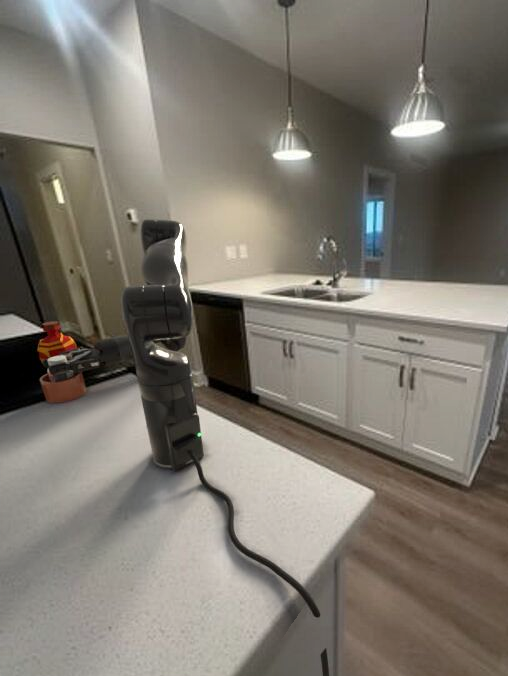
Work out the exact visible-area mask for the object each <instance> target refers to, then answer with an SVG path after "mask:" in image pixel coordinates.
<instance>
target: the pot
mask: <svg viewBox="0 0 508 676" xmlns="http://www.w3.org/2000/svg"><path fill="white" fill-rule="evenodd" d="M74 376H75V377H73V378H70V379H68V380H64V381H59V382H51V381H50V378H49V375H48V372H47V373H46V374H44V375H42V376H41V377H40V378H39V384H40V386H41V390H42V393H43V396H44V399H45V401H46V402H49V403H64V402H69V401H72V400H75V399H78V398H81V397H82V396H83V395H84V394H86V392H87V386H86V382H85V379H84V374H83V371H81V372H77V373H74Z"/></svg>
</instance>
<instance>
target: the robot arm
mask: <svg viewBox="0 0 508 676" xmlns="http://www.w3.org/2000/svg"><path fill="white" fill-rule="evenodd" d="M187 241H188V239H187V232H186V229H185V227H184V225H183V224H182V223H180V222H179V221H176V220H172V219H171V220H169V219H167V220H166V219H154V218H145V219H143V220H142V221H141V224H140V242H141V243H140V244H141V247H142V253H143V257H142V261H141V262H142V263H141V268H140V272H141V277H142V278H143V281H144V282H145V285H144V284H141V285H140V284H139V285H130V286H127V287H124V289H123V290H122V292H121V294H120V295H121V296H120V309H121V315H122V320H123V325H124V327H125V331H126V334H124V335H118V336H113V337H107V338H104V339H99V340H95V342H94V343H93V348H84V346H78V347H77V348H75V349H71V350H68V351H64V352H61V353H60V355H59V356H65V357H66V359H67V362H66V363H67V364H66V363H65V362H63V363H59V364H55V365H51V366H49V364H48V361H47V360H48V359H44V360H43V363H42V364H43V367H44V368H45V369H49V372H50V374H52V375H54V374H57V373H61V372H65V371H68V370H69V371H73V372H74V373H77V372H81V371H82V372H85V371H91V370H96V369H100V368H101V367H103V368H107V367H110V366H114V365H118V364H121V363H126V362H129V361H131V360H133V365H134V370H135V374H136V378H137V383H138V388H139V393H140V399H141V404H142V410H143V414H144V415H143V416H144V419H145V424H146V430H147V434H148V440H149V444H150V449H151V450H150V451H151V457H152V461H153V464H154V465H156V466H157V467H159V468H161V469H168V470H169V469H170V470H173V471H174V472H176V471H179V470H180V469H183V468H185V467H186V466H188V465H190V464H192V463H193V464H194V466H195V468H196V471H197V475H198V479H199V481H200V483H201V484H202V485H203V486H204V487H205V488H206V489H207V490H208V491H209V492H211V493H213V494H215V495H217V496H218V497H220V498H222V500H223V501H224V502H225V503H226V506H227V509H228V521H227V524H228V525H227V527H228V529H227V530H228V535H229V538H230V540H231V543H232V544H233V546H234V547H235V548H236V549H237V550H238V551H239V552H240V553H242V554H243V555H244V556H246V557H248V558H249V559H251V560H253V561H255V562H257V563H260V564H262V565H264V566H265V567H267V568H268V569H270V570H271V571H272V572H273V573H275V574H276V575H277V576H279V578H281V579H282V580H283V581H285V582H286V583H287V584H288V585H290V586H291V587H292V588H293V589H294V590H295V591H296V592H298V594H299V595H300V597H301V598H302V599H303V600H304V601H305V603H306V605H307V606H308V608H309V610H310V612H311V614H312V616H313V617H315V618H317V619H319V618H320V617H321V612H320V610H319V607H318V605H317V604H316V602H315V601H314V599H313V598H312V595H310V593H309V592H308V591H307V588H305V587H304V586H303V585H302V584H301V583H300V582H299V581H298V580H296V579H295V578H294V577H293V576H291V575H290V574H289V573H288V572H286V571H284V570H283V569H282V568H281V567H280V566H279V565H277V564H276V563H274V562H273V561H272V560H270V559H268V558H266V557H264V556H262V555H260V554H258V553H256V552H254V551H252V550H251V549H249V548H247V547H246V546H245V545H243V543H241V541H240V540H239V539H238V537H237V535H236V532H235V525H234V524H235V509H234V505H233V502H232V500H231V498H230V497H229V495H228V494H227V493H225V492H224V491H223V490H220V489H218V488H216V487H214V486H213V485H212V484H210V483H209V482H208V481H207V479H206V478H205V475H204V472H203V468H202V465H201V462H200V461H199V460H200V459H201V458H203V457H205V453H204V446H203V445H204V444H203V437H202V430H201V423H200V415H199V414H198V407H197V399H196V392H195V391H196V390H195V384H194V383H195V382H194V375H193V368H192V362H191V359H190V357H189V356H188V355H187V354H186V353H183V352H180V351H182V350H183V349H184V348H185V346H186V344H187V339H188V338H187V337H188V336H189V335H190V334H191V333H192V330H193V328H194V320H195V319H194V318H195V316H194V315H195V313H194V306H193V301H192V295H191V293H190V288H189V266H188V265H189V264H188V260H187V254H186V253H187V245H188V242H187ZM158 344H161V345H162V346H160V345H158ZM68 356H69V357H68ZM67 357H68V358H67ZM320 663H321V672H322V676H330V669H329V659H328V651H327V647H324V650H322V651H321V653H320Z"/></svg>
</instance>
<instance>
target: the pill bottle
mask: <svg viewBox="0 0 508 676" xmlns="http://www.w3.org/2000/svg"><path fill="white" fill-rule="evenodd" d="M47 361H48V364H49V366H51V365H55V364H59V363H63V362H65V363H66V362H67V359H66V357H65V356H54V357H51V358H49V359H48V360H47ZM66 364H67V363H66ZM46 369H47V371H46V372H47V373H48V375H49V378H50V381H51V382H59V381H64V380H68V379H70V378H73V377H75V376H74V372H73V371H69V370H68V371H65V372H61V373H57V374H54V375H52V374H50V372H49V369H48V368H46Z"/></svg>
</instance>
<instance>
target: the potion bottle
mask: <svg viewBox="0 0 508 676" xmlns="http://www.w3.org/2000/svg"><path fill="white" fill-rule="evenodd" d="M41 325H42V327H43V328H42V330H43V332H44V333H47V336H45V337H43V338H42V339H39V342H38V345H37V351H36V352H38V357H39V360H40V361H41V363H42V364H43V360H44V359H49V358H51V357H54V356H59V355H60V353H61V352H64V351H68V350H71V349H75V348H78V347H77V344H76V341H75V340H74V339H73V338H72V337H71V336H70V335H65V334H63V333H62V332H59V331H60V330H61V326H60V325H59V321H55V320H52V321H46V322H43V323H42V324H41ZM68 357H69V356H68ZM68 357H67V358H68Z"/></svg>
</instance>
